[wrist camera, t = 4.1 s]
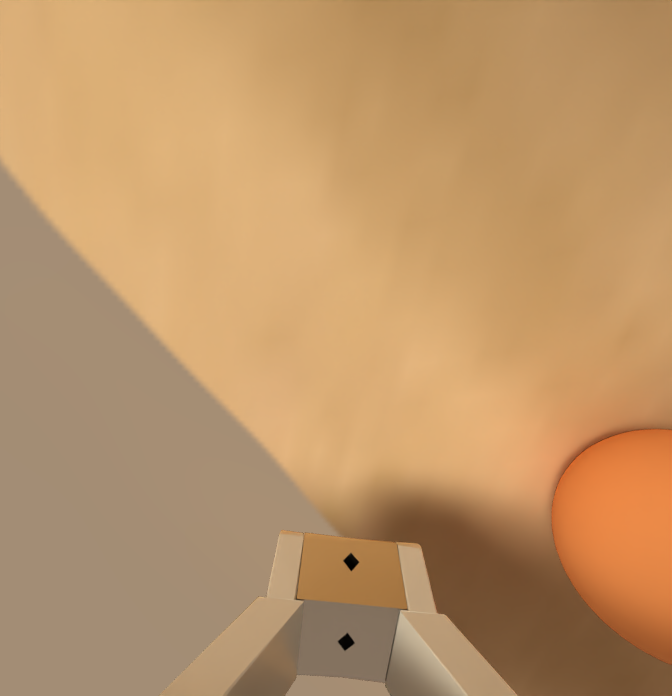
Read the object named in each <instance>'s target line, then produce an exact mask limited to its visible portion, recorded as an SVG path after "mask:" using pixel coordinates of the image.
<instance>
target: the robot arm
mask: <svg viewBox="0 0 672 696" xmlns="http://www.w3.org/2000/svg"><path fill="white" fill-rule="evenodd" d="M296 675H312V676H329V677H343V678H351V679H359V680H367V681H374V682H382V683H386V685H385V686H386V688H387V690H388V692H389V693H390V695H391V696H518V695H517V694H516V693H515V692H514V691H513V690H512V688H511V687H510V686H509V685H508V684H507V683H506V682H505V681H504V680H503V678H502V677H501V676H500V675H499V674H498V673H497V672H496V671H495V669H494V668H493V667H492V666H491V665H490V664H489V663H488V662H487V661H486V659H485V658H484V657H483V656H482V655H481V654H480V653H479V652H478V651H477V649H476V648H475V647H474V646H473V645H472V644H471V643H470V642H469V640H468V639H467V638H466V637H465V636H464V635H463V634H462V633H461V632H460V630H459V629H458V628H457V627H456V626H455V625H454V624H453V623H452V621H451V620H450V619H449V618H448V617H447V616H446V615H445V614H438V613H437V609H436V605H435V601H434V597H433V593H432V588H431V584H430V580H429V576H428V572H427V568H426V564H425V560H424V556H423V552H422V548H421V546H420V545H419V544H418V543H405V542H390V541H379V540H367V539H356V538H345V537H337V536H329V535H321V534H313V533H305V535H304V533H300V532H292V531H285V530H281V532H280V534H279V537H278V542H277V547H276V551H275V556H274V562H273V566H272V571H271V575H270V580H269V585H268V590H267V595H266V597H257V599H256V600H254V601H253V602H252V603H251V604H250V606H249V607H247V608H246V610H244V611H243V612H242V613H241V614H240V615H239V616H238V617H237V618H236V619H235V620H234V621H233V622H232V623H231V624H230V625H229V627H227V628H226V629H225V630H224V631H223V632H222V633H221V634H220V635H219V636H218V637H217V638H216V639H215V640H214V641H213V642H212V643H211V644H210V645H209V646H208V647H207V648H206V649H205V650H204V651H203V652H202V653H201V654H200V655H199V656H198V657H197V658H196V659H195V660H194V661H193V662H192V663H191V664H190V665H189V666H188V667H187V668H186V669H185V670H184V671H183V672H182V673H181V674H180V675H179V676H178V677H177V678H176V679H175V680H174V681H173V682H172V683H171V684H170V685H169V686H168V687H167V688H166V689H165V690H164V691H163V692H162V693H161V694H160V695H159V696H285V694H286V693H287V691H288V690H289V688H290V687H291V685H292V684H293V682H294V681H295V679H296Z"/></svg>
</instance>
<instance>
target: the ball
mask: <svg viewBox="0 0 672 696" xmlns="http://www.w3.org/2000/svg"><path fill="white" fill-rule="evenodd" d="M552 531H553V536H554V541H555V546H556V550H557V552H558V555H559V558H560V560H561V563H562V565H563V568H564V570H565V572H566V574H567V575H568V577H569V579H570V581H571V583H572V584H573V586H574V587H575V589H576V590H577V592H578V593H579V594H580V596H581V597H582V599H583V600H584V601H585V602H586V603H587V605H588V606H589V607H590V608H591V609H592V610H593V611H594V612H595V613H596V614H597V615H598V617H599V618H600V619H601V620H602V621H603V622H604V623H606V624H607V625H608V626H609V627H610V628H611V629H613V630H614V631H615V632H616V633H617V634H619V635H620V636H621V637H623V638H624V639H625V640H627V641H628V642H630V643H631V644H633V645H634V646H636V647H637V648H639V649H640V650H642V651H644V652H646V653H648V654H649V655H651V656H653V657H655V658H657V659H659V660H661V661H663V662H665V663H668V664H670V665H672V430H667V429H647V430H636V431H630V432H625V433H621V434H618V435H615V436H612V437H609V438H607V439H604V440H602V441H600V442H598V443H596V444H594V445H592V446H591V447H589V448H588V449H586V450H585V451H584V452H582V453H581V454H580V455H579V456H578V457H577V458H576V459H575V460H574V461H573V462H572V463H571V464H570V465H569V467H568V468H567V469H566V471H565V473H564V474H563V476H562V477H561V479H560V481H559V483H558V486H557V488H556V492H555V495H554V499H553V505H552Z"/></svg>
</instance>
